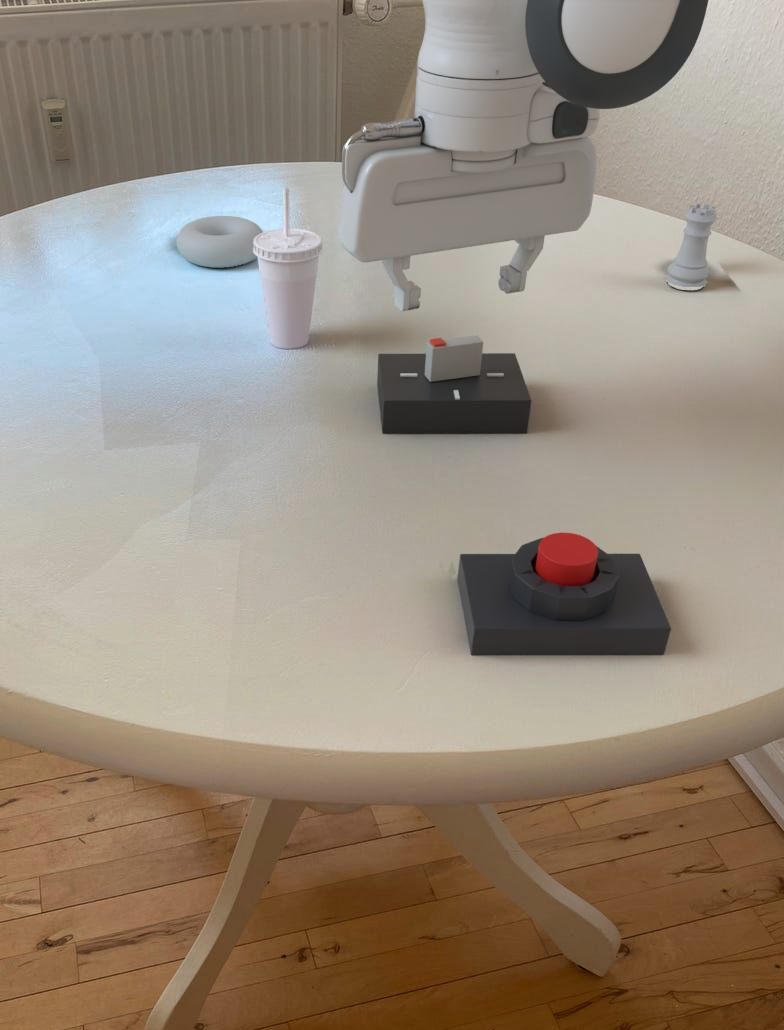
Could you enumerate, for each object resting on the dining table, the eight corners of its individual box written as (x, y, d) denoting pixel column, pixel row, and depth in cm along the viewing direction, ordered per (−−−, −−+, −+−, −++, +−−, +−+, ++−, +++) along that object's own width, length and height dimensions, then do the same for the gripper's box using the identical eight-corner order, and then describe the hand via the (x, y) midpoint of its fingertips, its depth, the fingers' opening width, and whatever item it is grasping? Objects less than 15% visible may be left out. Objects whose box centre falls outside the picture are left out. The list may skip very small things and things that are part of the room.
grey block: (473, 368, 90) (477, 332, 88) (480, 375, 89) (484, 339, 87) (424, 375, 89) (426, 338, 87) (430, 382, 88) (432, 345, 86)
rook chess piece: (655, 284, 113) (671, 206, 108) (678, 273, 115) (695, 197, 110) (692, 295, 110) (711, 217, 105) (715, 284, 113) (734, 207, 107)
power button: (587, 554, 68) (591, 532, 67) (599, 588, 65) (603, 565, 64) (531, 554, 68) (534, 532, 67) (540, 588, 65) (544, 565, 64)
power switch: (633, 579, 72) (645, 530, 69) (664, 655, 66) (678, 605, 63) (457, 580, 72) (462, 530, 69) (470, 656, 66) (477, 605, 63)
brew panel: (511, 384, 95) (515, 351, 93) (527, 433, 88) (532, 398, 86) (376, 385, 95) (378, 351, 93) (382, 433, 88) (383, 398, 86)
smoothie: (315, 325, 105) (316, 176, 96) (328, 352, 100) (329, 198, 91) (252, 329, 104) (246, 181, 95) (261, 357, 99) (256, 203, 90)
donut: (165, 250, 122) (195, 277, 115) (163, 219, 120) (192, 245, 113) (246, 237, 125) (279, 263, 118) (245, 207, 123) (278, 232, 116)
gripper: (361, 137, 71) (356, 334, 80) (620, 107, 77) (588, 294, 85) (325, 115, 75) (324, 304, 84) (572, 88, 81) (547, 268, 90)
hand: (459, 299), depth 85 cm, fingers open, 8 cm apart
